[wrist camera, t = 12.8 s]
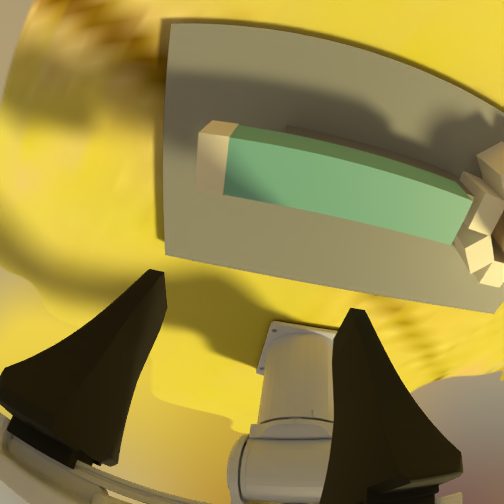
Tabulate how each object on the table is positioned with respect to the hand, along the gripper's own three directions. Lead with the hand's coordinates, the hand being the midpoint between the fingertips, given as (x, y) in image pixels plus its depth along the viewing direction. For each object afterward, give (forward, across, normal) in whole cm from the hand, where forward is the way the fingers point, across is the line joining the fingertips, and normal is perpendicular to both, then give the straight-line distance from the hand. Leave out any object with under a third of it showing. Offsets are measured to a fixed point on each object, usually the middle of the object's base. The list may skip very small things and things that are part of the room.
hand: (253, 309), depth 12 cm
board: (+10, -8, -2) cm, 13 cm away
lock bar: (+5, -3, -4) cm, 7 cm away
